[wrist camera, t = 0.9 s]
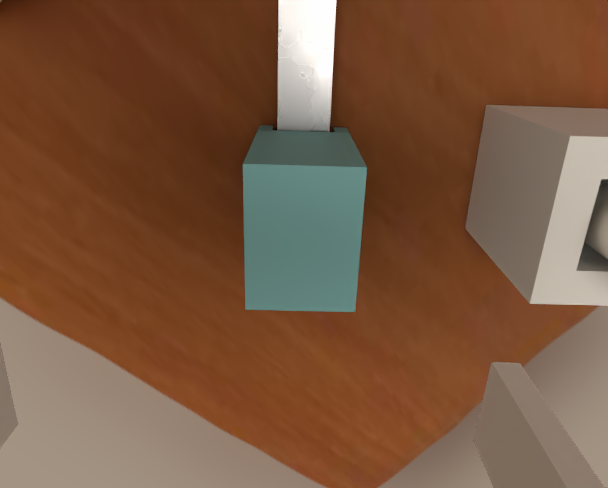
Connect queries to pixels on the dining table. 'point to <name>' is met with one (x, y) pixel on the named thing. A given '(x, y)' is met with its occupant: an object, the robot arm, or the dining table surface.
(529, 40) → the dining table surface
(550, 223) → the cabinet
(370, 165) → the dining table surface
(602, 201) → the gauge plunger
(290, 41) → the rail
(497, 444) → the robot arm
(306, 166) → the block
